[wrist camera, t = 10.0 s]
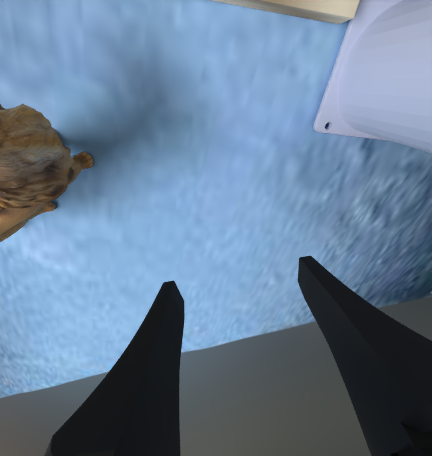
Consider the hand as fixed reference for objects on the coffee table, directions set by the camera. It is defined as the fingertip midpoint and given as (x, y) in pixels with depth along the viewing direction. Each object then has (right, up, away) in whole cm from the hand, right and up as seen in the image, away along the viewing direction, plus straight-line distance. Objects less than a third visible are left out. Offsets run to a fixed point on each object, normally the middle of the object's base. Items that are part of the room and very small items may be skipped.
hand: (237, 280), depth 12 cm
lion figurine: (-15, +8, +5) cm, 18 cm away
